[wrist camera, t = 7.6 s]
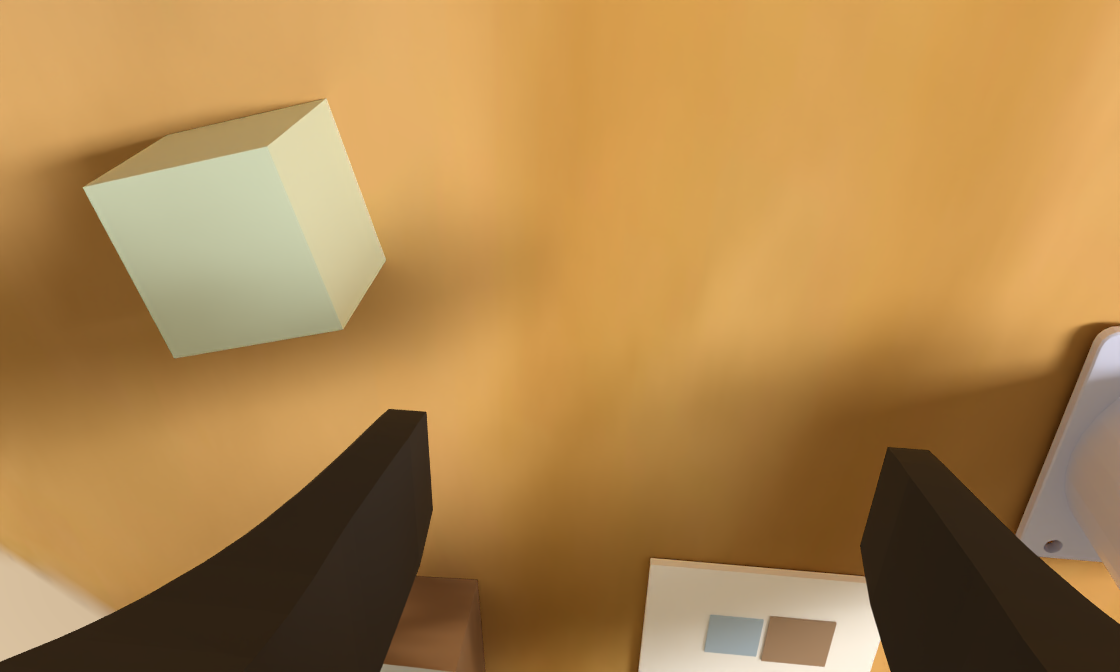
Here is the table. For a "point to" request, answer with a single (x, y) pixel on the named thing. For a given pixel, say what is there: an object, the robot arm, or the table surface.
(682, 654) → the page
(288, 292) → the brick
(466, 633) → the base brick
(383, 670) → the blue brick
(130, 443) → the table surface
